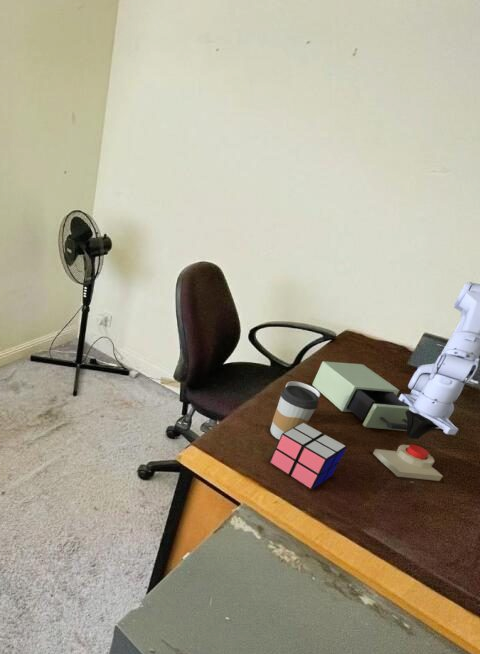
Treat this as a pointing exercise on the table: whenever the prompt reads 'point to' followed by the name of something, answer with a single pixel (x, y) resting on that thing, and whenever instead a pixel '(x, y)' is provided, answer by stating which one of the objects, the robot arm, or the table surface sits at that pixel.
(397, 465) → the control block
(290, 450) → the puzzle cube
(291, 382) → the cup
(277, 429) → the coffee cup
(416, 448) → the button
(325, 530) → the table surface
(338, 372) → the mint drawer box
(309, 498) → the table surface
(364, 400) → the pull-out drawer
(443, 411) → the robot arm
